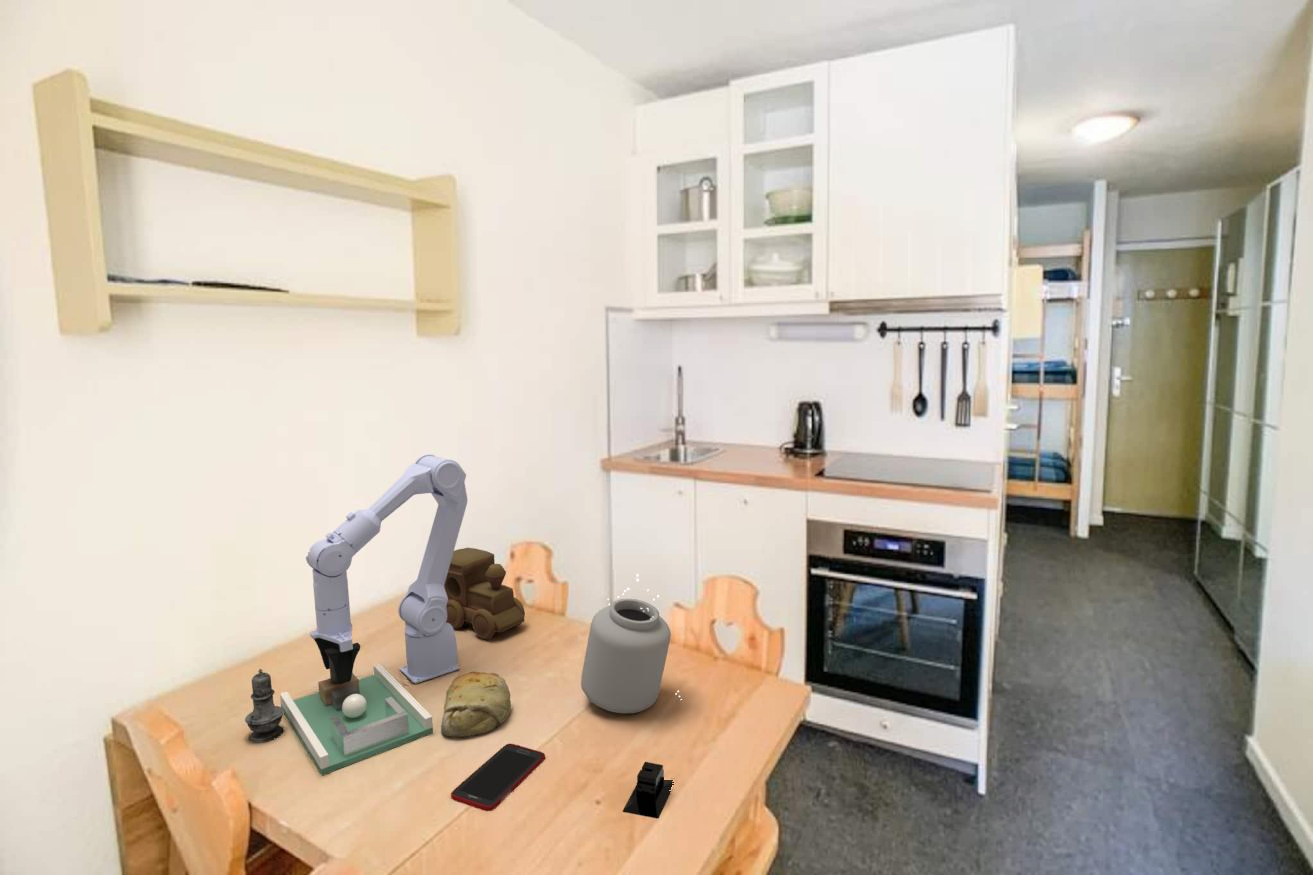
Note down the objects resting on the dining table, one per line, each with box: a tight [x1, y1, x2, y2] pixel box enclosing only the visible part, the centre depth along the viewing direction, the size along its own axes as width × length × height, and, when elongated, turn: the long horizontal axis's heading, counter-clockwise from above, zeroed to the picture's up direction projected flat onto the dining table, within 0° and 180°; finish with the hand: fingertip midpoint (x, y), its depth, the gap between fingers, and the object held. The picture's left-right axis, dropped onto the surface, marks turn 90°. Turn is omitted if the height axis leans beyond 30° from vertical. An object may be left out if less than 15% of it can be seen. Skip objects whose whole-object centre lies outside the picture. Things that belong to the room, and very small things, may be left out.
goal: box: [329, 697, 409, 757], centre depth 119 cm, size 10×8×4 cm
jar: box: [580, 573, 683, 714], centre depth 129 cm, size 19×15×25 cm
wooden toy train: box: [444, 547, 526, 641], centre depth 164 cm, size 20×11×17 cm, turn 55°
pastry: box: [440, 670, 512, 738], centre depth 125 cm, size 14×12×8 cm
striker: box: [317, 658, 360, 710], centre depth 130 cm, size 6×7×8 cm
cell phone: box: [450, 743, 546, 812], centre depth 109 cm, size 8×15×1 cm, turn 156°
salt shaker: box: [244, 668, 285, 744], centre depth 120 cm, size 6×6×12 cm
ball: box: [342, 694, 367, 718], centre depth 125 cm, size 4×4×4 cm
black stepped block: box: [622, 761, 675, 820], centre depth 104 cm, size 12×7×5 cm, turn 162°
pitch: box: [279, 663, 434, 776], centre depth 125 cm, size 18×26×3 cm
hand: (337, 674), depth 131 cm, fingers open, 7 cm apart
